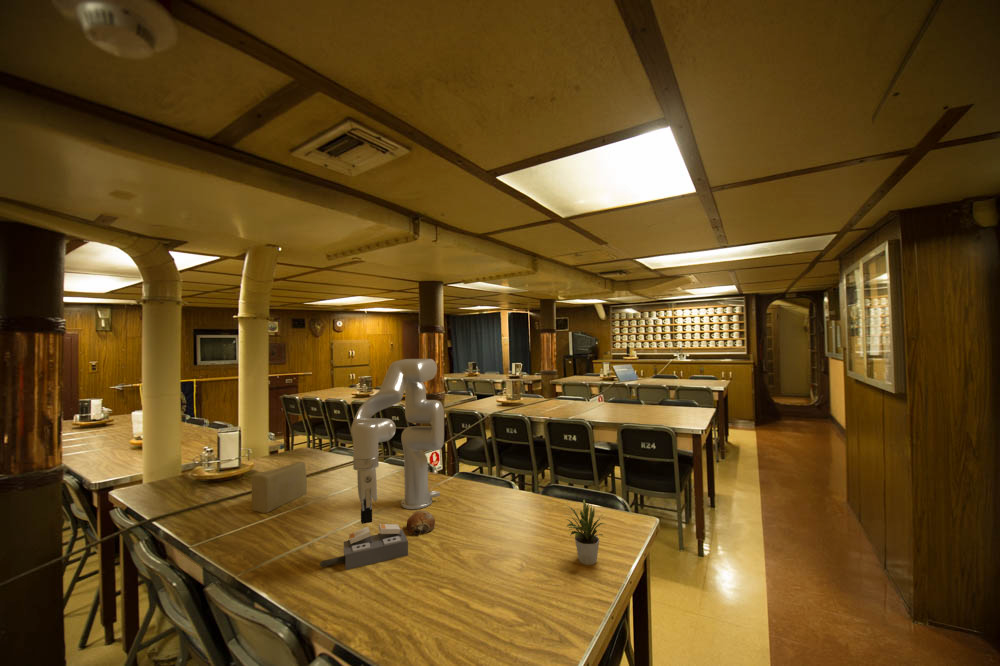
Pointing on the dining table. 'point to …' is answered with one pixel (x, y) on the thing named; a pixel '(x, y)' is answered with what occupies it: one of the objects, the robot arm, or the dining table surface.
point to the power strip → (371, 550)
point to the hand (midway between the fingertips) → (366, 522)
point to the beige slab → (278, 487)
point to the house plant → (586, 535)
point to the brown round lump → (420, 523)
